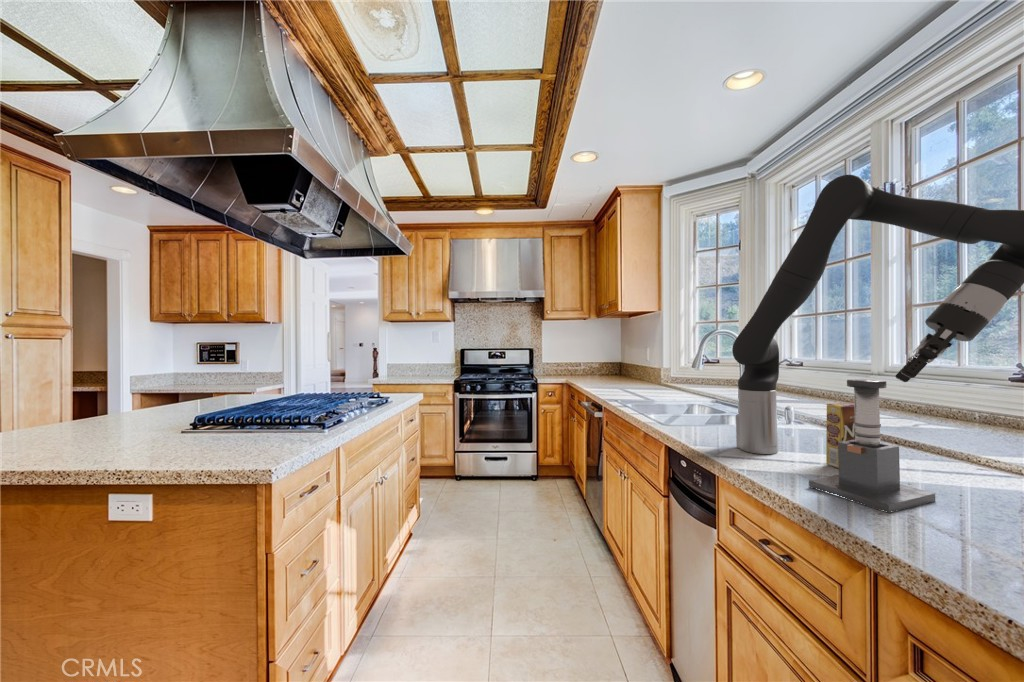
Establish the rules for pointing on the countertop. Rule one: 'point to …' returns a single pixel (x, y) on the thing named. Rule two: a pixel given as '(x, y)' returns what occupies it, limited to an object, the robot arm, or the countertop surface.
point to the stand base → (872, 478)
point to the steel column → (867, 411)
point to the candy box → (838, 429)
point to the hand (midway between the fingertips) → (903, 377)
